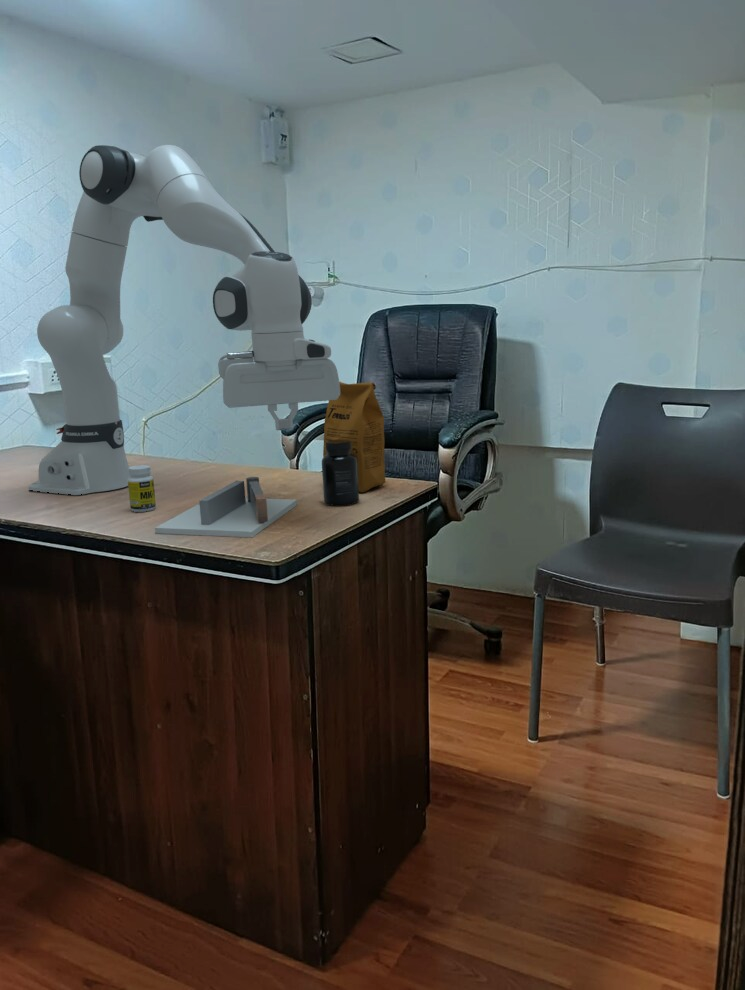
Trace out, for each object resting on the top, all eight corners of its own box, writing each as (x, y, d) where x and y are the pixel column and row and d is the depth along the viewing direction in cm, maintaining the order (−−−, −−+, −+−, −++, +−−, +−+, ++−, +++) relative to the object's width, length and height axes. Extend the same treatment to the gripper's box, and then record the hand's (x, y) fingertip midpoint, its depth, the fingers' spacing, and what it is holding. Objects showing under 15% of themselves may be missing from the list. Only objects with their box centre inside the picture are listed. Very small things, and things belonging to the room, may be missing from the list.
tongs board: (155, 533, 138) (152, 502, 137) (211, 502, 159) (209, 475, 158) (252, 537, 134) (249, 505, 132) (297, 504, 154) (295, 476, 153)
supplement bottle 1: (142, 513, 152) (138, 470, 150) (125, 511, 154) (120, 468, 152) (161, 507, 156) (157, 465, 154) (144, 505, 158) (140, 463, 156)
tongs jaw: (258, 522, 138) (256, 499, 137) (250, 501, 153) (248, 480, 152) (267, 521, 138) (266, 498, 137) (259, 500, 153) (257, 480, 152)
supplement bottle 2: (363, 498, 157) (361, 438, 154) (351, 507, 151) (349, 444, 148) (331, 497, 159) (328, 437, 157) (318, 505, 153) (314, 443, 150)
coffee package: (350, 479, 175) (345, 377, 170) (392, 486, 167) (389, 380, 162) (317, 487, 168) (311, 382, 163) (359, 495, 160) (355, 385, 155)
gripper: (218, 354, 132) (225, 437, 135) (339, 346, 136) (344, 427, 140) (216, 352, 138) (223, 431, 141) (332, 345, 142) (337, 422, 146)
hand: (284, 429), depth 141 cm, fingers closed
